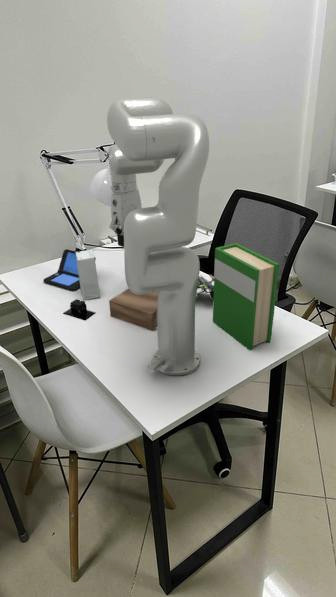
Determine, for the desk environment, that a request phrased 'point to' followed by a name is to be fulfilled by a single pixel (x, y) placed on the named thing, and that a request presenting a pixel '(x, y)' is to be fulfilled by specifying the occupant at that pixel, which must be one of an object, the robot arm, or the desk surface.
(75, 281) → the game console
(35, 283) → the desk surface
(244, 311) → the hardback book
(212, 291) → the passion flower
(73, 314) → the build plate
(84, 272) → the skincare box
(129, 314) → the walnut block
